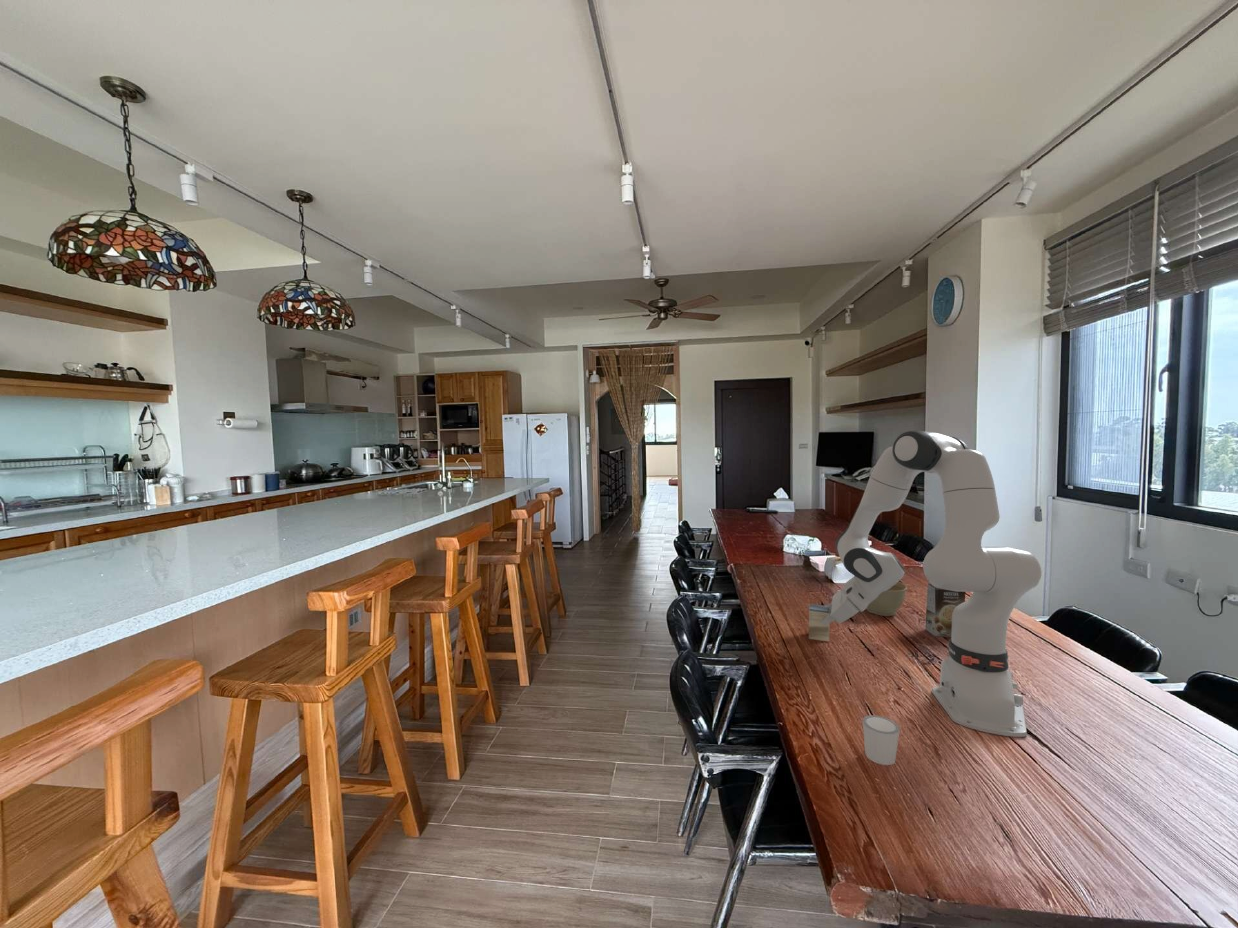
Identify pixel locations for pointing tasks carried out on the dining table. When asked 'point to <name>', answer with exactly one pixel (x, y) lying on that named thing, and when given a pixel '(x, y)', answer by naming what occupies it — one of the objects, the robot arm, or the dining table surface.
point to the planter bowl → (888, 601)
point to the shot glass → (880, 739)
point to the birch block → (818, 622)
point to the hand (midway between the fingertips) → (824, 617)
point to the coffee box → (941, 610)
